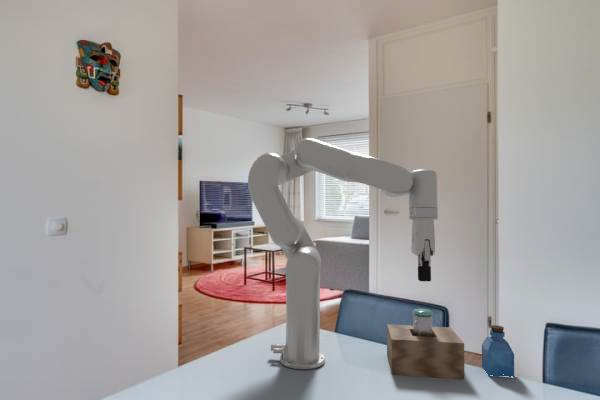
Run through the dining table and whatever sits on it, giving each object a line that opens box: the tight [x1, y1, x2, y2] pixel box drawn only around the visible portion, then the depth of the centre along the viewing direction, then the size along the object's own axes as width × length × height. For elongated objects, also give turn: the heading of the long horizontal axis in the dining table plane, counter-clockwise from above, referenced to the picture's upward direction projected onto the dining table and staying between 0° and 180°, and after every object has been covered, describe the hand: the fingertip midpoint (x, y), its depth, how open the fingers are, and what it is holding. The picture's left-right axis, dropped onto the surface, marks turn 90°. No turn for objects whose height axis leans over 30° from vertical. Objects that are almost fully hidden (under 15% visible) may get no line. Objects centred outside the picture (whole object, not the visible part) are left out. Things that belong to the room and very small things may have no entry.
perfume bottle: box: [481, 324, 515, 378], centre depth 102 cm, size 6×6×12 cm
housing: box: [386, 323, 465, 380], centre depth 106 cm, size 18×14×9 cm
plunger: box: [412, 308, 434, 337], centre depth 106 cm, size 5×5×9 cm
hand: (424, 280), depth 107 cm, fingers closed
